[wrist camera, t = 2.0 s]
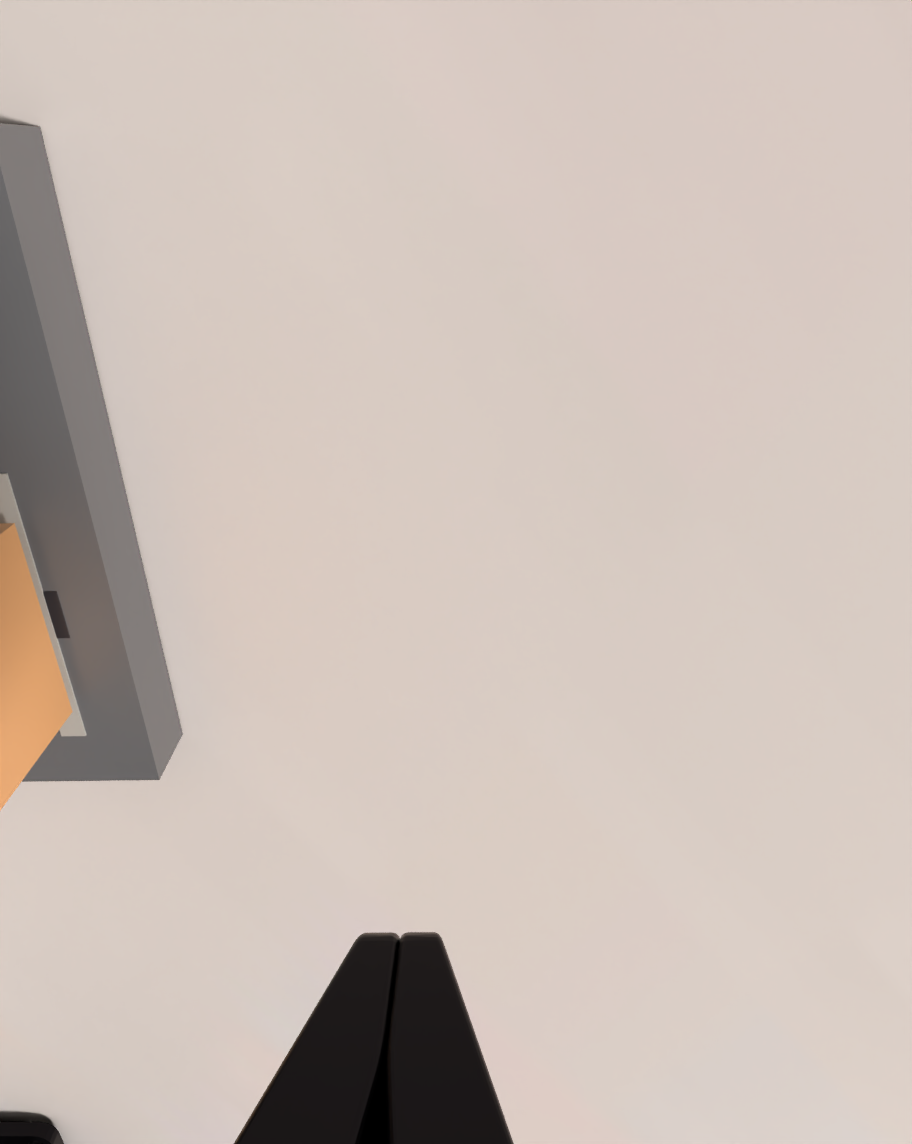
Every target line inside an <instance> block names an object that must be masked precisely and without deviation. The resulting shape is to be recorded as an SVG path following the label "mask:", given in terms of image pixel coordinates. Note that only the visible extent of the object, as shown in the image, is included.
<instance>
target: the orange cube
mask: <svg viewBox="0 0 912 1144" xmlns="http://www.w3.org/2000/svg"><path fill="white" fill-rule="evenodd" d="M72 712H73V711H72V708H71V705H70V702H69V698H68V695H67V692H66V689H65V685H64V682H63V679H62V676H61V672H60V669H59V666H58V663H57V659H56V656H55V653H54V650H53V646H52V643H51V640H50V637H49V633H48V630H47V627H46V624H45V620H44V617H43V614H42V611H41V607H40V604H39V601H38V597H37V594H36V591H35V588H34V584H33V581H32V578H31V575H30V571H29V568H28V565H27V562H26V558H25V555H24V552H23V549H22V545H21V542H20V539H19V536H18V532H17V529H16V526H15V523H0V810H1V809H2V807H3V806H4V805H5V803H6V802H7V801H8V799H9V798H10V796H11V795H12V794H13V792H14V791H15V790H16V788H17V787H18V786H19V784H20V783H21V781H22V780H23V779H24V777H25V776H26V775H27V773H28V772H29V771H30V769H31V768H32V766H33V765H34V764H35V762H36V761H37V760H38V758H39V757H40V756H41V754H42V753H43V751H44V750H45V749H46V747H47V746H48V745H49V743H50V742H51V740H52V739H53V738H54V736H55V735H56V734H57V732H58V731H59V730H60V728H61V727H62V725H63V724H64V723H65V721H66V720H67V719H68V717H69V716H70V715H71V713H72Z"/></svg>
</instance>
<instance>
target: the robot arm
mask: <svg viewBox="0 0 912 1144" xmlns="http://www.w3.org/2000/svg"><path fill="white" fill-rule="evenodd" d="M0 1144H64V1143H63V1140H62V1138H61V1136H60V1134H59V1131H58V1130H57V1129H56V1128H55V1127H53V1126H52V1125H50V1124H47V1123H41V1122H0ZM234 1144H514V1143H513V1141H512V1138H511V1135H510V1132H509V1129H508V1126H507V1123H506V1121H505V1118H504V1115H503V1112H502V1109H501V1106H500V1103H499V1101H498V1098H497V1095H496V1092H495V1089H494V1086H493V1083H492V1081H491V1078H490V1075H489V1072H488V1069H487V1066H486V1063H485V1061H484V1058H483V1055H482V1052H481V1049H480V1046H479V1043H478V1040H477V1038H476V1035H475V1032H474V1029H473V1026H472V1023H471V1020H470V1018H469V1015H468V1012H467V1009H466V1006H465V1003H464V1000H463V998H462V995H461V992H460V989H459V986H458V983H457V980H456V978H455V975H454V972H453V969H452V966H451V963H450V960H449V958H448V955H447V952H446V949H445V946H444V943H443V941H442V938H441V937H440V935H439V934H437V933H435V932H408V933H405V934H403V935H402V936H401V938H399V936H398V935H397V934H396V933H364V934H362V935H360V936H359V937H358V938H357V939H356V941H355V942H354V944H353V945H352V947H351V949H350V950H349V952H348V954H347V955H346V957H345V959H344V960H343V962H342V964H341V965H340V967H339V969H338V970H337V972H336V974H335V976H334V977H333V979H332V981H331V982H330V984H329V986H328V987H327V989H326V991H325V992H324V994H323V996H322V997H321V999H320V1001H319V1002H318V1004H317V1006H316V1007H315V1009H314V1011H313V1012H312V1014H311V1016H310V1017H309V1019H308V1021H307V1022H306V1024H305V1026H304V1027H303V1029H302V1031H301V1032H300V1034H299V1036H298V1037H297V1039H296V1041H295V1042H294V1044H293V1046H292V1047H291V1049H290V1051H289V1052H288V1054H287V1056H286V1057H285V1059H284V1061H283V1062H282V1064H281V1066H280V1067H279V1069H278V1071H277V1072H276V1074H275V1076H274V1077H273V1079H272V1081H271V1082H270V1084H269V1086H268V1087H267V1089H266V1091H265V1092H264V1094H263V1096H262V1097H261V1099H260V1101H259V1102H258V1104H257V1106H256V1107H255V1109H254V1111H253V1112H252V1114H251V1116H250V1117H249V1119H248V1121H247V1122H246V1124H245V1126H244V1127H243V1129H242V1131H241V1132H240V1134H239V1136H238V1138H237V1139H236V1141H235V1143H234Z"/></svg>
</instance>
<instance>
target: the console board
mask: <svg viewBox="0 0 912 1144" xmlns="http://www.w3.org/2000/svg"><path fill="white" fill-rule="evenodd" d="M0 523H15V526H16V529H17V532H18V536H19V539H20V542H21V545H22V549H23V552H24V555H25V558H26V562H27V565H28V568H29V571H30V575H31V578H32V581H33V584H34V588H35V591H36V594H37V597H38V601H39V604H40V607H41V611H42V614H43V617H44V620H45V624H46V627H47V630H48V633H49V637H50V640H51V643H52V646H53V650H54V653H55V656H56V659H57V663H58V666H59V669H60V672H61V676H62V679H63V682H64V685H65V689H66V692H67V695H68V698H69V702H70V705H71V708H72V711H73V712H72V713H71V715H70V716H69V717H68V719H67V720H66V721H65V723H64V724H63V725H62V727H61V728H60V730H59V731H58V732H57V734H56V735H55V736H54V738H53V739H52V740H51V742H50V743H49V745H48V746H47V747H46V749H45V750H44V751H43V753H42V754H41V756H40V757H39V758H38V760H37V761H36V762H35V764H34V765H33V766H32V768H31V769H30V771H29V772H28V773H27V775H26V776H25V777H24V779H23V780H22V781H102V780H160V778H161V776H162V774H163V772H164V770H165V768H166V766H167V764H168V762H169V760H170V758H171V756H172V754H173V752H174V750H175V748H176V746H177V744H178V742H179V740H180V738H181V736H182V735H183V734H182V730H181V725H180V721H179V717H178V712H177V708H176V704H175V700H174V695H173V691H172V687H171V683H170V678H169V674H168V670H167V666H166V661H165V657H164V653H163V649H162V644H161V640H160V636H159V631H158V627H157V623H156V619H155V614H154V610H153V606H152V602H151V597H150V593H149V589H148V585H147V580H146V576H145V572H144V568H143V563H142V559H141V555H140V550H139V546H138V542H137V538H136V533H135V529H134V525H133V521H132V516H131V512H130V508H129V504H128V499H127V495H126V491H125V486H124V482H123V478H122V474H121V469H120V465H119V461H118V457H117V452H116V448H115V444H114V440H113V435H112V431H111V427H110V423H109V418H108V414H107V410H106V405H105V401H104V397H103V393H102V388H101V384H100V380H99V376H98V371H97V367H96V363H95V359H94V354H93V350H92V346H91V342H90V337H89V333H88V329H87V324H86V320H85V316H84V312H83V307H82V303H81V299H80V295H79V290H78V286H77V282H76V278H75V273H74V269H73V265H72V261H71V256H70V252H69V248H68V243H67V239H66V235H65V231H64V226H63V222H62V218H61V214H60V209H59V205H58V201H57V197H56V192H55V188H54V184H53V179H52V175H51V171H50V167H49V162H48V158H47V154H46V150H45V145H44V141H43V137H42V133H41V128H40V127H39V126H27V125H16V124H4V123H0Z"/></svg>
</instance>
